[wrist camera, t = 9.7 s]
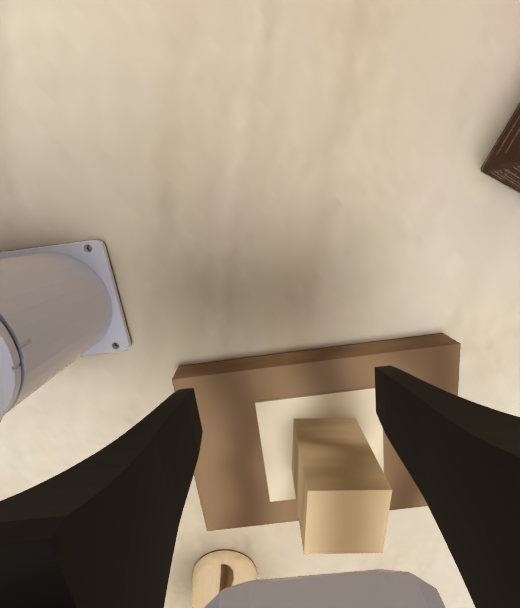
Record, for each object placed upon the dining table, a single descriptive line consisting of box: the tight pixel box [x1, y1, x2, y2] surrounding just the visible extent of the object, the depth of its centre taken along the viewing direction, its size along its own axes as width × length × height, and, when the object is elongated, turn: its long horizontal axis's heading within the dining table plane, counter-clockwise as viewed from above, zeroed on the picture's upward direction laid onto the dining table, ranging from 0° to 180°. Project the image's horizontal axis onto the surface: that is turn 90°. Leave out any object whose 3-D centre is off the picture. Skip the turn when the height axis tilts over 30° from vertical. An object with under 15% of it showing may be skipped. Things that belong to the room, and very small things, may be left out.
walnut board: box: [172, 333, 460, 531], centre depth 23 cm, size 20×14×2 cm
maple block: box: [292, 418, 392, 554], centre depth 19 cm, size 4×4×6 cm
